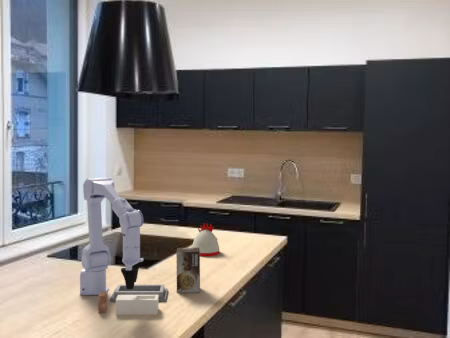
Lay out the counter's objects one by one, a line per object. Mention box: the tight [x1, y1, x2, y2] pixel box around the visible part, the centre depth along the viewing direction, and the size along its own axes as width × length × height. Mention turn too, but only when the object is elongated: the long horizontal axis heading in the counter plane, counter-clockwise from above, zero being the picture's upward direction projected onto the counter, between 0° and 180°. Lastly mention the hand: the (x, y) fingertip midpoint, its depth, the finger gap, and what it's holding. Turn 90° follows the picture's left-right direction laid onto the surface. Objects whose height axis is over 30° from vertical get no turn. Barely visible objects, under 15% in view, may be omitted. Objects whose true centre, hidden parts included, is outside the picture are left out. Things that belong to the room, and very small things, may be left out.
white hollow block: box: [115, 295, 160, 315], centre depth 183 cm, size 6×14×5 cm, turn 93°
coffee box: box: [175, 247, 201, 294], centre depth 206 cm, size 9×6×16 cm
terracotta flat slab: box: [97, 291, 108, 314], centre depth 183 cm, size 2×5×6 cm, turn 3°
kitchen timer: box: [191, 222, 220, 257], centre depth 265 cm, size 14×14×15 cm
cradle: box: [109, 284, 169, 303], centre depth 199 cm, size 20×12×3 cm, turn 93°
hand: (131, 285), depth 182 cm, fingers open, 7 cm apart
